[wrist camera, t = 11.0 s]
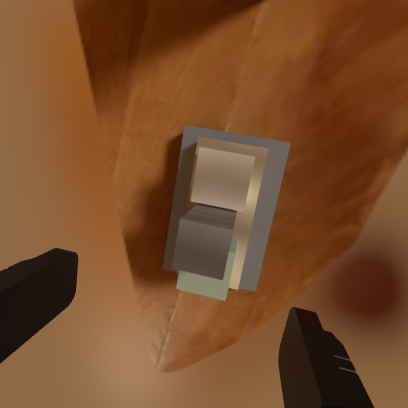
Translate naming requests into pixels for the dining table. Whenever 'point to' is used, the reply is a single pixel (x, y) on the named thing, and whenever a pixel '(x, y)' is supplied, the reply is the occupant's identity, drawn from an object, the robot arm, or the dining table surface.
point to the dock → (264, 202)
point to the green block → (209, 279)
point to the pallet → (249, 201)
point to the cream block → (222, 179)
